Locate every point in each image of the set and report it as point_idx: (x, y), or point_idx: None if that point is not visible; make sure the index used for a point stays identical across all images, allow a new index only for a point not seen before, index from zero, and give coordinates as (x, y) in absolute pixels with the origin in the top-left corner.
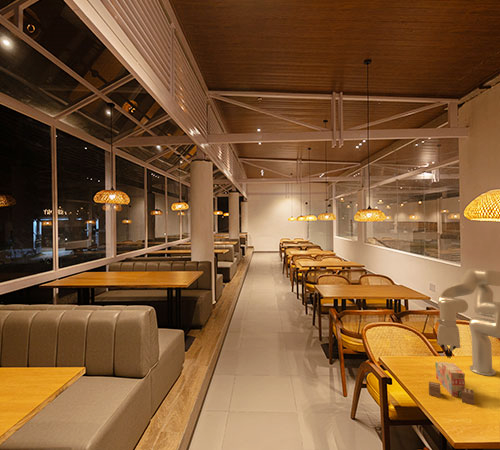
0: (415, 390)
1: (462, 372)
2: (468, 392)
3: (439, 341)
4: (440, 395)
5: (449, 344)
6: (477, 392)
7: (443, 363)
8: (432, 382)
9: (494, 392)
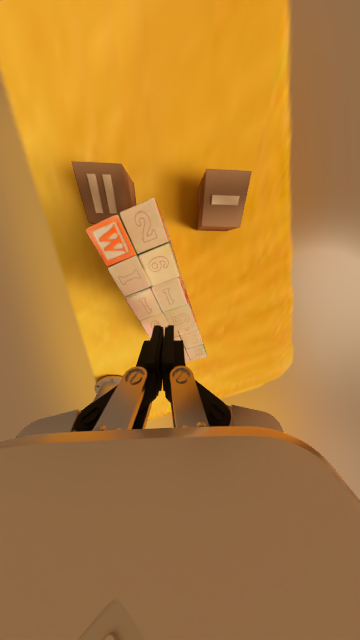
0: (271, 207)
1: (99, 244)
2: (95, 176)
3: (340, 501)
4: (198, 199)
5: (125, 453)
6: (107, 290)
7: (189, 320)
8: (229, 221)
9: (75, 309)
